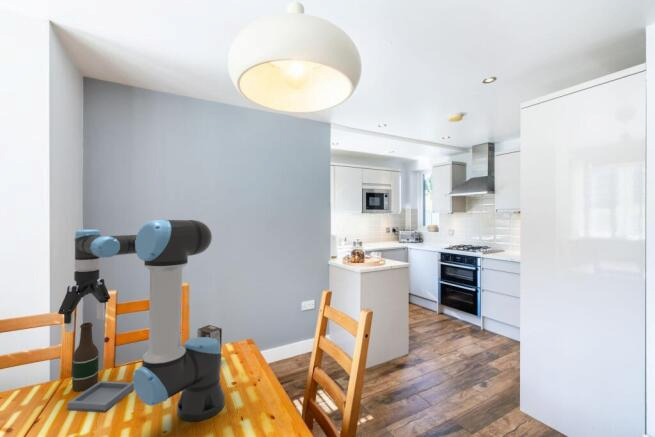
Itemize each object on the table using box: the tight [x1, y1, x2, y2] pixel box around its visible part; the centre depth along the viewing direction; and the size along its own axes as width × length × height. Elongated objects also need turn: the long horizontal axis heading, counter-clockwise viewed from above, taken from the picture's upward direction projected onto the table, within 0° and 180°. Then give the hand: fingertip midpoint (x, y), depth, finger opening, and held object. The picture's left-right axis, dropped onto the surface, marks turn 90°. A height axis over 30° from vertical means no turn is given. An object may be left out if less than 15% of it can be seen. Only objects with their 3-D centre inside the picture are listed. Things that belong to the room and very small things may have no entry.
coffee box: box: [196, 324, 223, 366], centre depth 133 cm, size 9×6×16 cm
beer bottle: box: [71, 322, 100, 392], centre depth 115 cm, size 8×8×24 cm
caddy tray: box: [66, 380, 135, 413], centre depth 107 cm, size 13×13×2 cm
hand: (85, 325), depth 115 cm, fingers open, 13 cm apart
